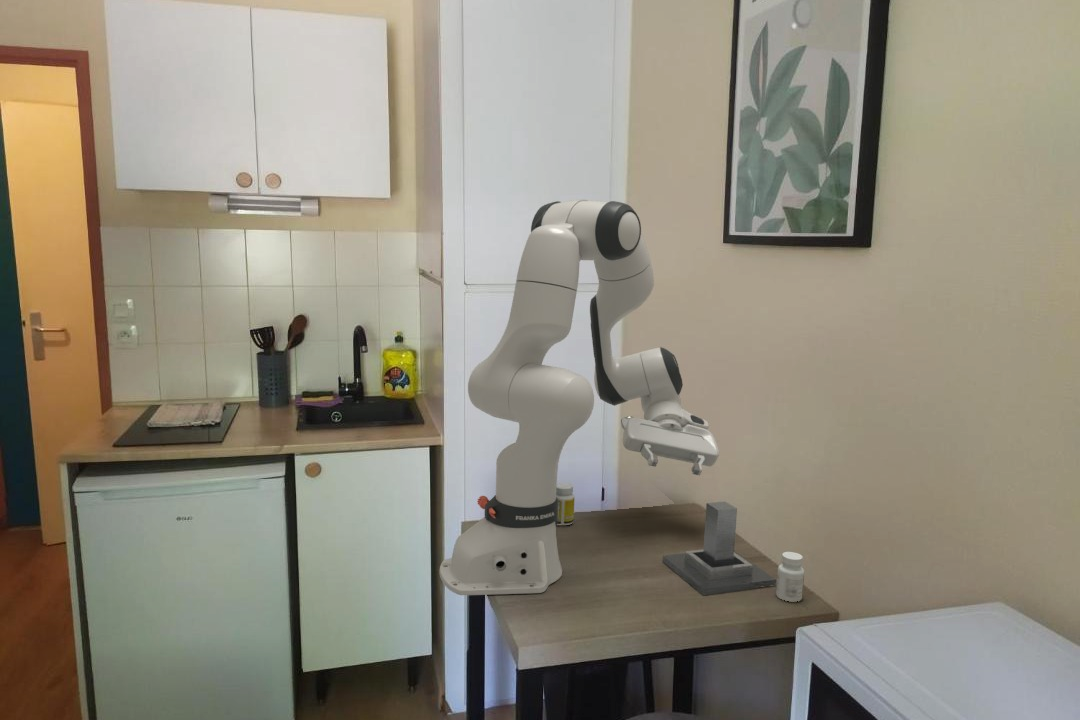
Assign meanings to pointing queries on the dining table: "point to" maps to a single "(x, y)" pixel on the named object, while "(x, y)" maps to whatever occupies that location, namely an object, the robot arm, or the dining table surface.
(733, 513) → the steel bar
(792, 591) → the pill bottle
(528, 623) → the dining table surface
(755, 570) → the block
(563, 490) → the supplement bottle
